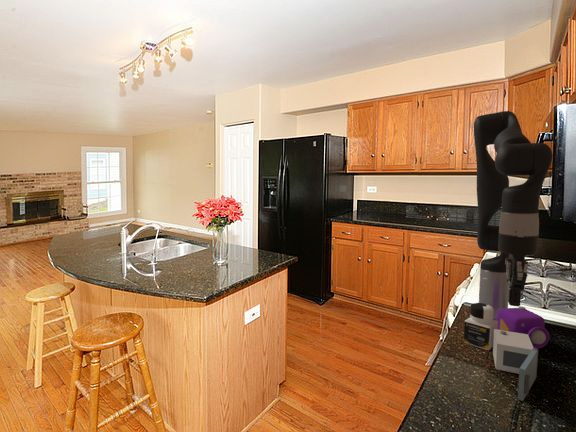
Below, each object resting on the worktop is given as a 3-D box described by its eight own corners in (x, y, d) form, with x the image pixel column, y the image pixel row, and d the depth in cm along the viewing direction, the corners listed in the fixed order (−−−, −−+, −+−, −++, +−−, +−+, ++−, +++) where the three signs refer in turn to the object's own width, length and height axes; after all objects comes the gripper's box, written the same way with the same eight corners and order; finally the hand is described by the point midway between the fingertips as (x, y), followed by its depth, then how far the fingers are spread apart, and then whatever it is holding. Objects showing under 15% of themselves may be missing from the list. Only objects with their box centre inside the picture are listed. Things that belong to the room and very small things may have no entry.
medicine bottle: (463, 342, 105) (464, 304, 103) (472, 335, 109) (474, 299, 108) (488, 351, 99) (490, 311, 98) (497, 343, 104) (499, 305, 103)
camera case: (492, 352, 98) (494, 327, 98) (529, 359, 94) (531, 333, 94) (495, 369, 90) (497, 341, 89) (536, 377, 86) (538, 348, 85)
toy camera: (530, 357, 95) (532, 323, 94) (489, 336, 109) (491, 306, 108) (559, 352, 98) (561, 318, 97) (516, 332, 111) (518, 302, 110)
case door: (517, 399, 77) (518, 368, 76) (531, 375, 86) (532, 347, 85) (526, 402, 75) (528, 371, 75) (539, 378, 85) (541, 350, 84)
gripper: (496, 227, 86) (493, 294, 88) (502, 235, 74) (498, 312, 76) (532, 228, 82) (528, 298, 84) (544, 237, 71) (539, 318, 72)
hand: (514, 304), depth 80 cm, fingers closed
